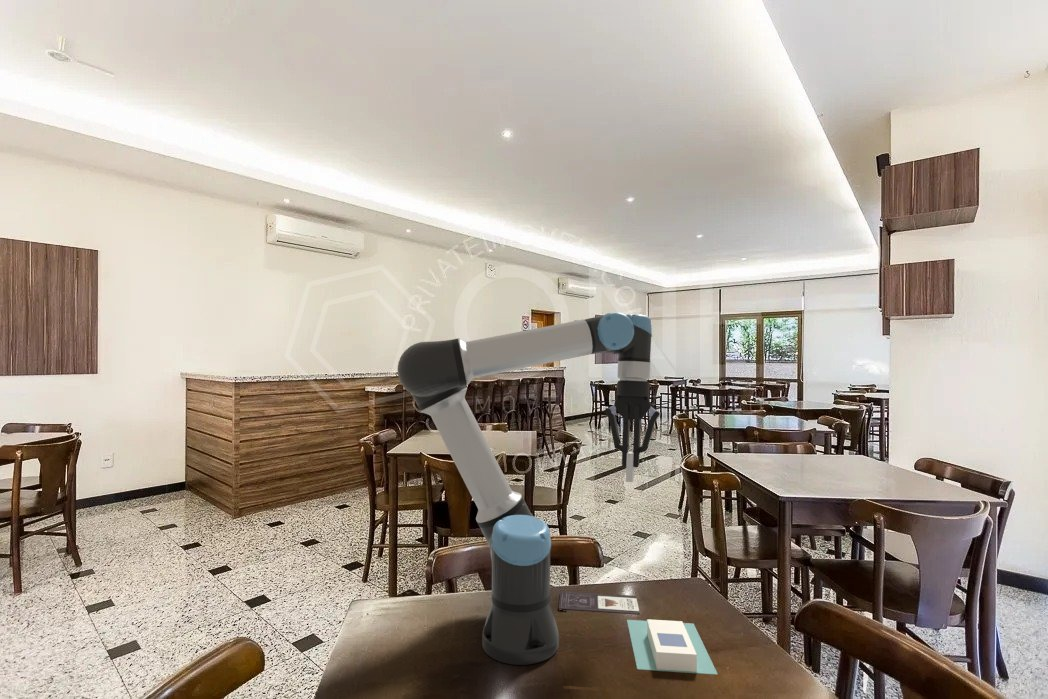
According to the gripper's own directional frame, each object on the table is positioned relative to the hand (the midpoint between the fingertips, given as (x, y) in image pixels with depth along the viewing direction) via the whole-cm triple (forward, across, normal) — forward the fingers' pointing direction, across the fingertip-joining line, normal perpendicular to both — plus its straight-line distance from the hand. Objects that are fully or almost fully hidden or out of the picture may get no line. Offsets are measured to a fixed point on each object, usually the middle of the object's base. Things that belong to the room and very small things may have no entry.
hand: (629, 480), depth 115 cm
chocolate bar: (+30, +6, +1) cm, 30 cm away
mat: (+29, -10, +14) cm, 33 cm away
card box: (+27, -10, +11) cm, 30 cm away
